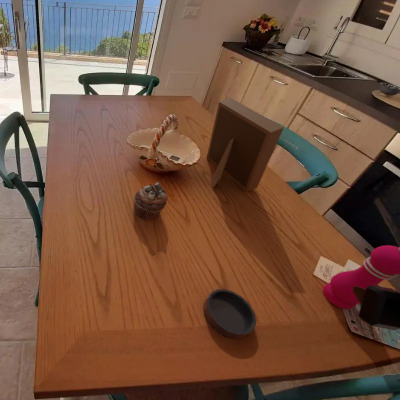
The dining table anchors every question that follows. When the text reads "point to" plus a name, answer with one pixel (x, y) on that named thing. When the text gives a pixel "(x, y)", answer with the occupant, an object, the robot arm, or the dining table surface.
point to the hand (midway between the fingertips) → (380, 293)
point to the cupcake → (150, 201)
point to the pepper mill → (363, 276)
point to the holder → (229, 314)
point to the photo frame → (241, 144)
